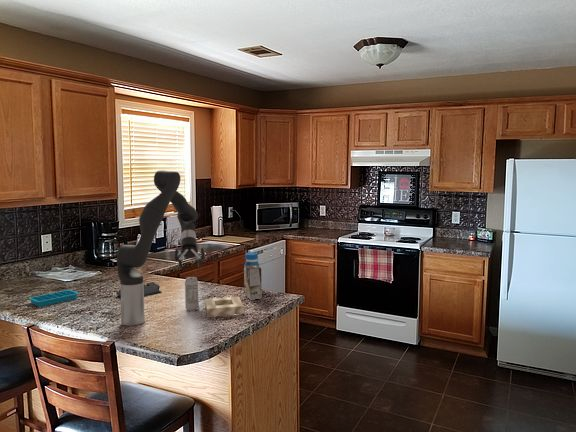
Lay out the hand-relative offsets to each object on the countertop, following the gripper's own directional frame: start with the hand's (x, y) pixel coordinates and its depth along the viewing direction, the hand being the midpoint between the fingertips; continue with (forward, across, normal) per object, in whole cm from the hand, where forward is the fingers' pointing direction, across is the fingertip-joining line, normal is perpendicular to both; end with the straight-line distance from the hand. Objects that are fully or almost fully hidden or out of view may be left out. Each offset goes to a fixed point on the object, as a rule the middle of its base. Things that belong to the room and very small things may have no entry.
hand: (190, 267), depth 219 cm
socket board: (+25, +14, 0) cm, 28 cm away
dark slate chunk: (-4, -26, +30) cm, 40 cm away
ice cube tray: (-2, -66, +28) cm, 72 cm away
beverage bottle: (+1, +33, +24) cm, 41 cm away
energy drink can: (+21, 0, +4) cm, 21 cm away
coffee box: (+12, +31, +13) cm, 36 cm away
